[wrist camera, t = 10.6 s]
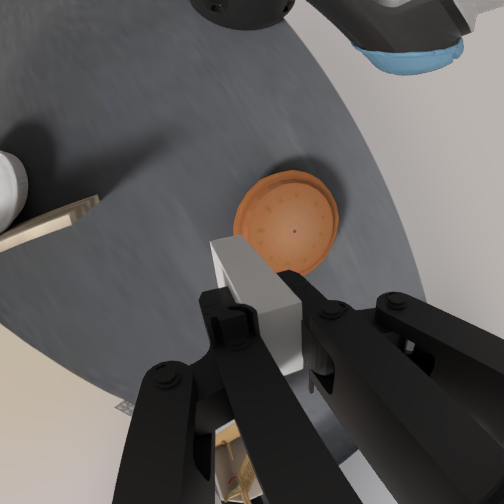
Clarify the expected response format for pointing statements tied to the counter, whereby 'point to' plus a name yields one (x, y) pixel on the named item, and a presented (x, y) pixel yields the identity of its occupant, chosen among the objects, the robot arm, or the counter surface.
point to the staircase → (226, 463)
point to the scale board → (46, 223)
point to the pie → (289, 220)
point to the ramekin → (11, 188)
